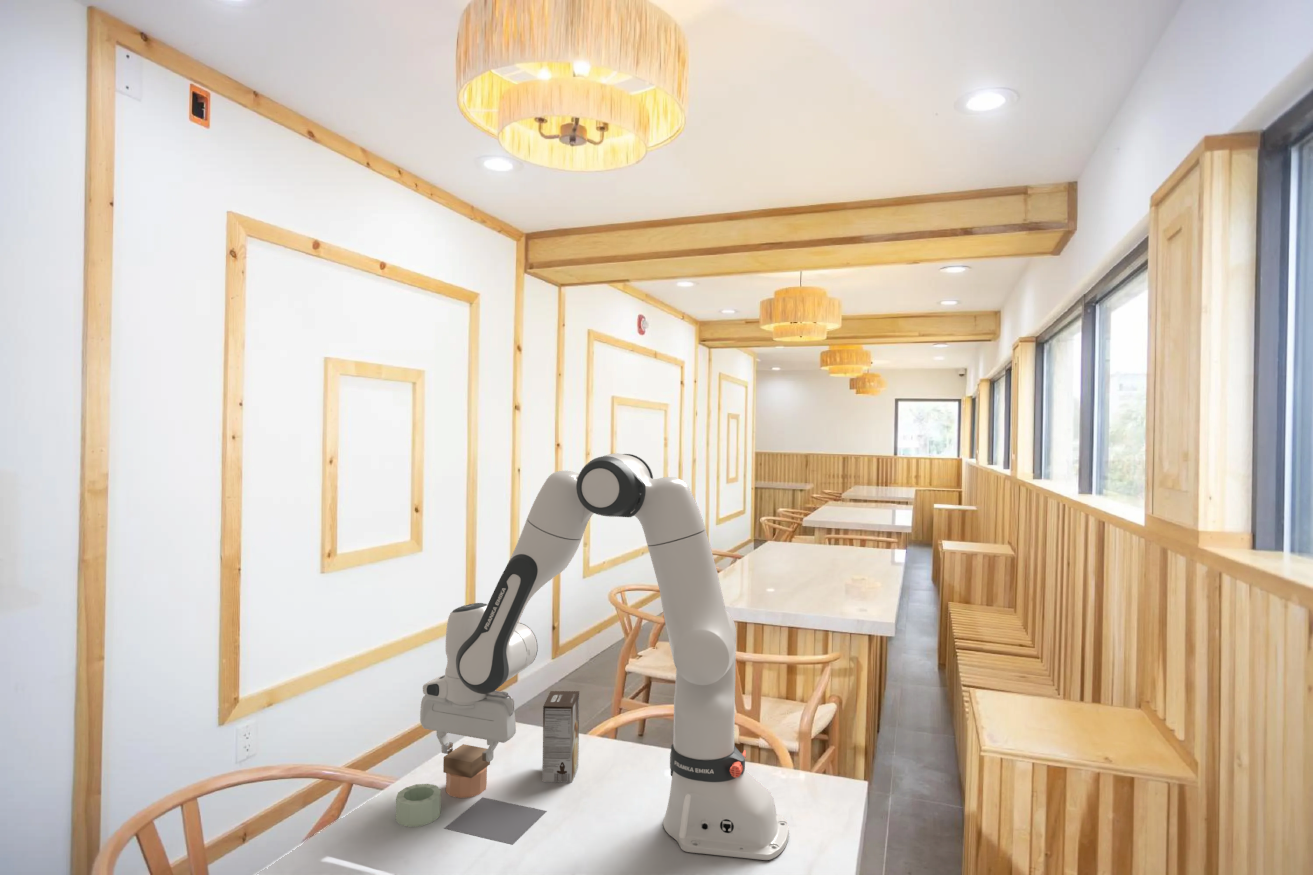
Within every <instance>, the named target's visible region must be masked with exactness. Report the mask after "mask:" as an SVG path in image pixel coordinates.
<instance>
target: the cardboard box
mask: <svg viewBox="0 0 1313 875" xmlns="http://www.w3.org/2000/svg"><path fill="white" fill-rule="evenodd" d="M487 749H488V748H486V747H481V746H479V747H478V746H474V745H469V744H464V743H463V744H461V745H460V746H458V747H457V748H455V749H453V751H452V752H450V753H449V754H445V755H444V756H443V764H442V765H443V766H442V768H443V770H442V771H443V774H444V773H445V774H446V773H449V774H454V775H458V776H463V777H468V778H472V777H474V776H475V775H476V774H478V773H479V772H480V771H482V770H483V769H484V768H486V767H487V768H488V766H490V765H491V761H490V762H486V761H482V758H483V757H482V752H484V751H485V750H487Z"/></svg>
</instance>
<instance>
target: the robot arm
mask: <svg viewBox="0 0 1313 875" xmlns="http://www.w3.org/2000/svg"><path fill="white" fill-rule="evenodd" d="M594 514H595V515H598V516H602V517H608V518H609V517H610V518H611V517H612V518H614V517H618V518H633V517H635V518H636V519H637V520H638V522H639V523H640V524H641V525H640V526H641V527H642V530H643V534H644V538H645V541H646V545H647V549H648V551H649V556H650V560H651V562H652V566H653V567H652V568H653V570H654V574H655V578H656V581H657V585H658V590H659V594H660V601H661V608H662V612H663V617H664V624H665V628H666V633H667V638H668V643H669V647H670V651H671V656H672V660H673V664H674V667H675V669H676V671H675V687H674V697H673V698H674V699H673V737H672V738H673V739H672V740H673V743H672V744H671V746H670V753H669V754H670V755H669V768H670V777H671V784H670V790H669V797H668V802H667V807H666V811H665V814H664V817H663V822H662V825H663V828H664V830H665V831H666V833H667V834H668V835H669V836H671V838H672V839H674V840H675V841H676V842H677V843H678V845H679V847H680V849H681V850H682V851H683V852H686V853H694V854H695V853H696V854H702V855H703V854H706V855H714V856H724V857H732V858H733V857H734V858H741V859H742V858H744V859H751V860H752V859H753V860H763V861H768V860H770V861H771V860H772V859H773V860H774V859H775V858H776V857H779V855H780V854H782V852H783V851H784V850H785V848H786V846H787V843H788V841H789V837H790V827H789V823H788V821H787V818H785V816H783V815H781V814H778V813H777V810H776V809H777V808H776V802H775V800H774V796H773V794H772V792H771V791H770V790H769V789H768V788H767V787H766V786H765V785H763V783H761V781H759V780H757V779H756V778H755V777H754V776H753V775H752V774H751V773H750V772H749V771H748V770H746V757H747V756H746V755H747V753H746V752H747V750H746V749H744V750H743V752H740V750H739V749H738V748H737V747H736V745H735V724H736V723H735V718H736V717H735V714H736V712H735V710H736V708H735V707H736V699H735V698H736V666H737V665H736V660H737V659H736V657H737V628H736V624H735V620H734V618H733V617H732V615H731V613H730V612H729V611H728V610H727V609H726V606H725V602H724V596H723V593H722V589H721V588H722V587H721V584H720V578H719V574H718V569H717V565H716V562H715V559H714V558H715V557H714V554H713V551H712V548H711V544H710V539H709V537H708V534H707V530H706V526H705V523H704V519H703V517H702V516H703V515H702V513H701V511H700V509H699V506H698V504H697V502H696V499H695V497H694V494H693V492H692V491H691V489H690V486H689V485H688V484H687V482H686V481H684V480H682V479H681V478H678V477H673V476H664V477H660V478H654V476H653V472H652V469H651V467H650V465H649V464H648V463H647V462H646V461H645V460H644V459H642V458H641V457H639V456H637V455H635V454H631V453H609V454H606V455H602V456H599V457H595V458H593V459H592V460H590V461H589V462H588V463H586V464H585V465H584V466H583V467H582V469H581V470H580V472H579V473H577V472H576V471H571V470H559V471H554V472H553V473H551V474H550V475H549V476H548V477H547V478H546V479H545V481H544V483H543V485H542V487H541V488H540V489H539V491H538V493H537V495H536V497H535V499H534V501H533V503H532V506H531V508H530V510H529V513H528V515H527V518H526V521H525V523H524V526H523V527H522V531H521V534H520V536H519V538H518V540H517V543H516V546H515V548H514V550H513V552H512V555H511V556H510V558H509V560H508V563H507V565H506V566H505V568H504V571H503V572H502V574H501V575H500V578H499V580H498V581H497V583H496V585H495V589H494V590H493V592H492V595H491V596H490V599H489V601H488V603H483V602H476V603H469V604H465V605H461V606H459V607H457V608H455V609H453V610H452V611H451V612H450V614H449V616H448V617H447V618H448V619H447V623H446V630H445V631H446V632H445V654H446V658H447V664H446V667H445V671H444V673H445V674H443V675H440V676H437V677H435V678H433V679H432V680H429V681H427V682H426V683H424V684H422V685H423V686H422V693H423V697H422V699H421V701H420V702H421V703H420V711H419V714H420V715H419V717H420V718H419V722H420V724H421V726H422V729H425V730H430V731H435V732H436V737H437V739H438V742H439V744H440V746H441V754H445V755H447V754H449V753H450V752H452V751H454V748H453V747H454V742H453V741H450V738H449V736H448V734H453V735H458V736H463V737H469V738H474V739H480V740H486V745H487V746H488V747H487V748H486V749H487V750H485V751H484V752H482V757H483V758H482V761H486V762H490V763H491V761H493V759H494V751H495V749H496V748H497V746H498V744H499V743H506V742H508V741H509V740H511V739H512V738H513V737H514V736H515V735H516V733H517V725H516V724H517V723H516V715H515V700H514V698H513V696H511V695H510V694H509V693H508V692H507V691H503V690H502V691H499V690H497V689H499V688H500V687H501V686H502V685H503V684H504V683H505V682H507V681H508V680H511V679H512V678H513V677H515V676H517V675H518V674H519V673H520V672H522V671H524V670H525V669H527V668H528V667H530V666H531V665H532V664H533V662H534V661H535V660H536V657H537V655H538V651H539V650H538V649H539V646H538V645H539V644H538V639H537V637H536V635H535V633H534V632H533V630H532V629H531V627H529V626H528V625H526V624H525V623H522V622H519V621H520V619H521V617H522V615H523V613H524V611H525V609H526V607H527V605H528V603H529V601H530V600H531V599H532V598H533V596H534V595H535V594H536V593H537V592H538V591H539V590H540V589H541V588H542V587H544V586H545V585H546V584H547V583H548V582H550V581H551V580H552V579H554V578H555V577H557V576H558V575H559V574H560V573H562V572H563V571H565V569H566V568H567V567H568V566H569V565H570V563H571V561H572V559H573V558H574V556H575V554H576V553H577V551H578V548H579V546H580V544H581V541H582V539H583V535H584V533H585V531H586V527H587V525H588V524H589V521H590V520H591V517H593V515H594Z"/></svg>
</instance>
